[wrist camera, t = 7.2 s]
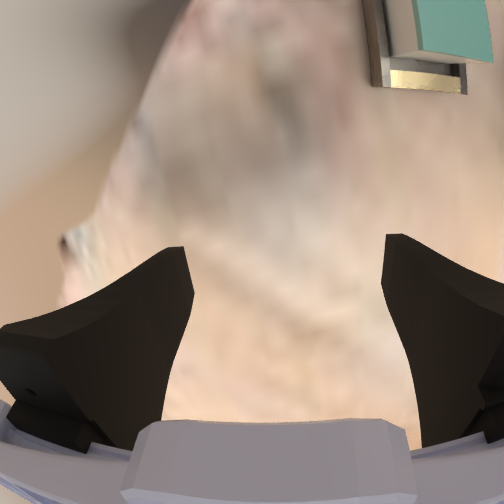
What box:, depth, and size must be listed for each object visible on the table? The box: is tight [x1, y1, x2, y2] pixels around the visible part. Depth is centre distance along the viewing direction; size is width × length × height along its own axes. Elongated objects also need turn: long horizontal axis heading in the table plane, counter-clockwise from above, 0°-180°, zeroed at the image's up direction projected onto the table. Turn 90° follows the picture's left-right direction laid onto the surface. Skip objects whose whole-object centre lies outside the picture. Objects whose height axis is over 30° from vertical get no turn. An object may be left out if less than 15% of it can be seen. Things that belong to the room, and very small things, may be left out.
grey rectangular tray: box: [362, 0, 467, 95], centre depth 13 cm, size 6×11×2 cm, turn 7°
